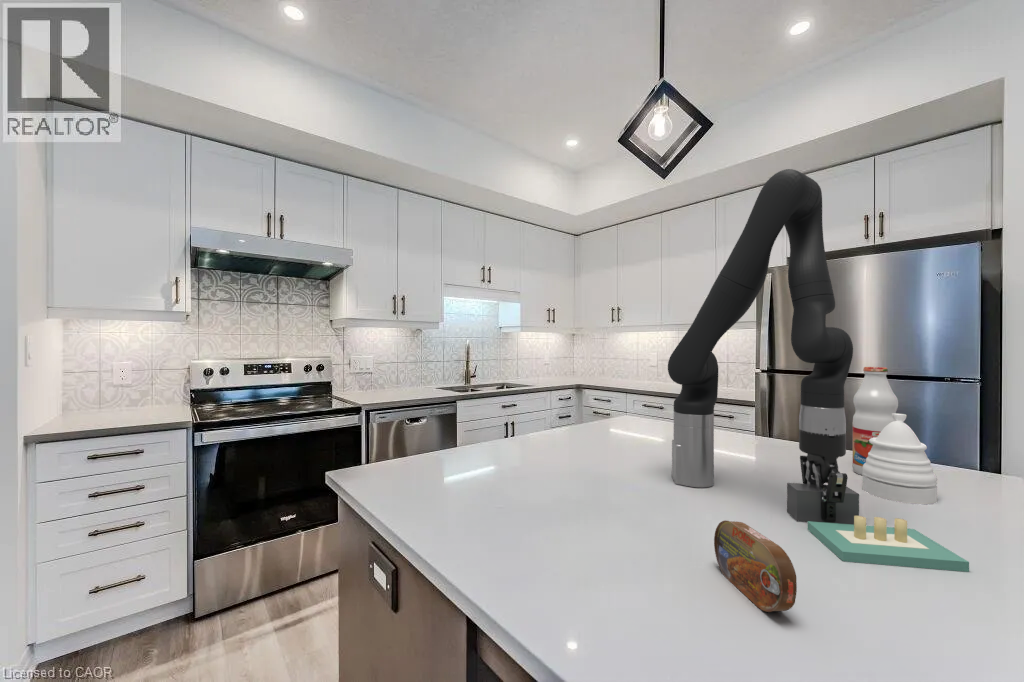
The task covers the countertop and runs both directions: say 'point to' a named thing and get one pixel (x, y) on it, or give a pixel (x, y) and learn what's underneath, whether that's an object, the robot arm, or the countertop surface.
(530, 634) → the countertop surface
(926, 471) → the honey pot
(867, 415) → the fruit juice
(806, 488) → the block
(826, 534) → the header board
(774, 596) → the tin
